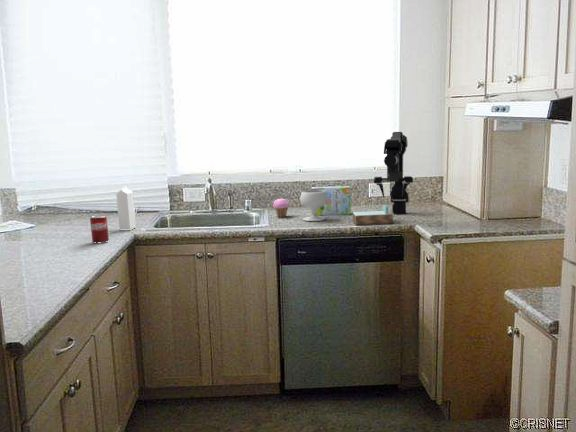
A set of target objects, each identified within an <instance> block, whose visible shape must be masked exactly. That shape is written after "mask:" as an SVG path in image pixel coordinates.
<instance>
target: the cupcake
mask: <svg viewBox="0 0 576 432" xmlns="http://www.w3.org/2000/svg"><path fill="white" fill-rule="evenodd" d="M272 207H273V208H274V209H275V212H276V213H275V214H276V217H278V218H286V217H287V213H288V210H289V209H288V208H289V207H290V203H289V201H288V200H287V199H286V198H277V199H275V200H274V201H273V205H272Z"/></svg>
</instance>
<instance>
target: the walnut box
mask: <svg viewBox="0 0 576 432" xmlns="http://www.w3.org/2000/svg"><path fill="white" fill-rule="evenodd" d="M365 212H369V211H365ZM388 213H389V214H390V215H365V216H356V217H355V215H354V214H353V213H352V222H353V224H355V226H374V225H377V226H378V225H393V224H394V213H393V214H391V213H390V212H389V210H388Z"/></svg>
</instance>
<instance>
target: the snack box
mask: <svg viewBox="0 0 576 432" xmlns="http://www.w3.org/2000/svg"><path fill="white" fill-rule="evenodd" d="M310 190H324V191H325V192H326V194H327V202H326V204H325V205H323V206H322V207H320V208H319V209H318V210H317V211H316V215H317V216H332V215H333V216H334V215H336V216H337V215H339V216H340V215H351V214H352V204H351V203H352V202H351V185H344V186H343V185H342V186H341V185H339V186H314V187H313V186H312V187H311V188H310ZM312 214H313V213H312V212H311V215H312Z"/></svg>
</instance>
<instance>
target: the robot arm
mask: <svg viewBox="0 0 576 432" xmlns="http://www.w3.org/2000/svg"><path fill="white" fill-rule="evenodd" d="M391 134H392V135H391V137H390V138H388V139H386V140H385V142H384V147H383V154H384V155H385V157H384V158H383V163H384V165H385V166H386V177H383V176H374V177H373V183H374V184H376V186H378V187H379V188H380V191H381V195H382V198H385V191H384V185H383V182H385V183H387V182H388V183H389V182H390V183H393V182H394V184H393V186H392V187H391V190H390V203H392V205H391V211H392V213H393V215H406V214H408V213H407V203H409V202H410V200H409V193H408V190H407V187H408V186H409V185H411V183H414V177H413V176H411V175H405V176H404V155H405V153H406V151H407V148H408V137H407V136H406V135H405V134H404V133H403V131H394V132H392V133H391Z"/></svg>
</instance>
